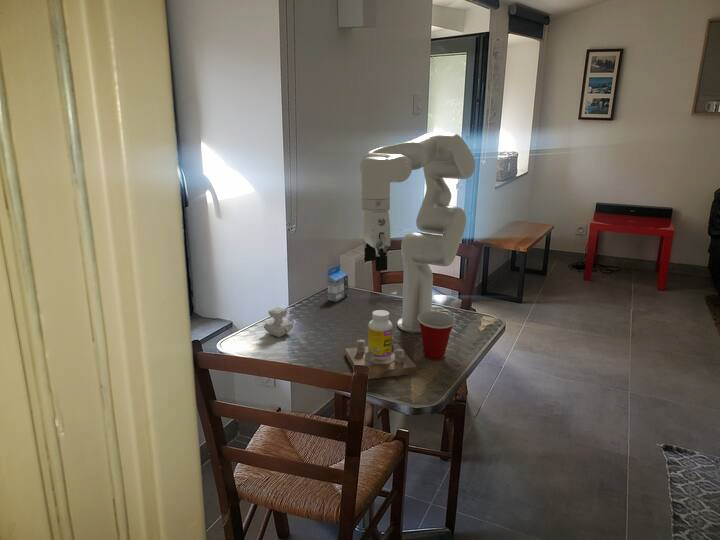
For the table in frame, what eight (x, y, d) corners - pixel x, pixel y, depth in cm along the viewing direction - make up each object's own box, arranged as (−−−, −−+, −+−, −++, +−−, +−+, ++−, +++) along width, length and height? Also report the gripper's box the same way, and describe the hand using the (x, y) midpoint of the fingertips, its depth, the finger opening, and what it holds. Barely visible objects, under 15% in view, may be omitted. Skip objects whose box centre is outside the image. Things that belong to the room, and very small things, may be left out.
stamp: (296, 334, 171) (295, 309, 168) (281, 341, 166) (280, 315, 163) (276, 327, 176) (275, 303, 174) (261, 334, 171) (260, 309, 169)
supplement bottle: (384, 363, 146) (385, 319, 143) (363, 357, 150) (363, 314, 146) (395, 354, 152) (397, 311, 148) (375, 349, 155) (376, 307, 151)
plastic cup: (427, 367, 149) (429, 326, 146) (409, 351, 159) (410, 313, 156) (460, 360, 153) (463, 321, 150) (440, 346, 163) (442, 309, 160)
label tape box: (336, 302, 201) (336, 270, 197) (327, 300, 203) (326, 269, 199) (348, 295, 208) (348, 265, 205) (339, 294, 210) (339, 263, 207)
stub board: (397, 349, 160) (397, 332, 159) (416, 373, 146) (417, 354, 144) (345, 354, 156) (345, 337, 155) (359, 380, 142) (359, 361, 140)
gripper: (400, 209, 137) (399, 273, 142) (378, 198, 152) (378, 256, 157) (372, 210, 134) (372, 275, 140) (353, 199, 150) (353, 258, 155)
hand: (375, 265), depth 148 cm, fingers open, 9 cm apart
